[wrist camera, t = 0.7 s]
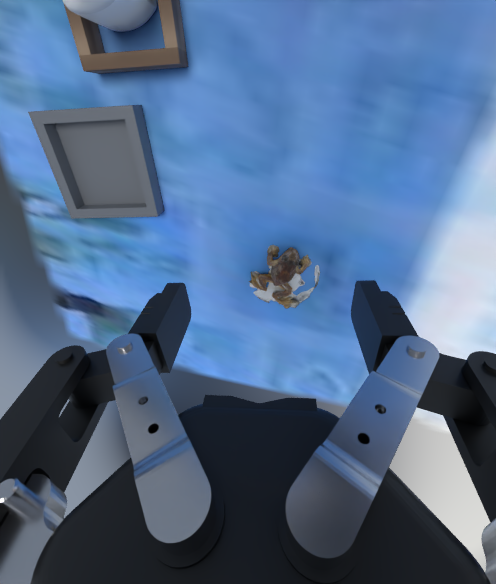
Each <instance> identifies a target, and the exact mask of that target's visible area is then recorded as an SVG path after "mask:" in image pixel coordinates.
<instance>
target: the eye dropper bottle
mask: <svg viewBox="0 0 496 584" xmlns="http://www.w3.org/2000/svg"><path fill="white" fill-rule="evenodd" d="M63 2H64V4H65V5H66V7H67V8H68V9H69V10H70V11H72V12H73V13H75V14H77V15H79V16H81V17H83V18H86V19H88V20H90V21H92V22H94V23H97V24H99V25H101V26H103V27H106V28H108V29H110V30H113V31H119V32H124V31H131V30H134V29H136V28H139V27H140V26H142V25H143V24H144V23H146V22H147V21H148V20H149V19H150V17H151V16H152V15H153V13H154V12H155V10H156V7H157V1H156V0H63Z"/></svg>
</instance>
